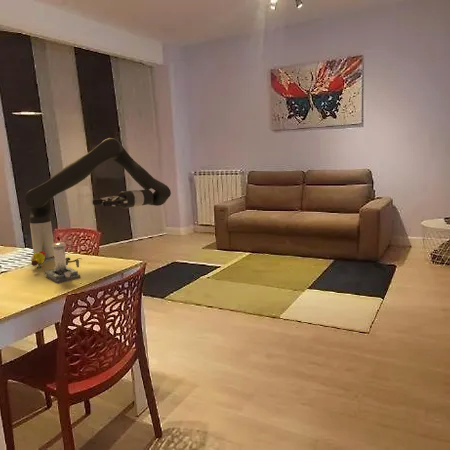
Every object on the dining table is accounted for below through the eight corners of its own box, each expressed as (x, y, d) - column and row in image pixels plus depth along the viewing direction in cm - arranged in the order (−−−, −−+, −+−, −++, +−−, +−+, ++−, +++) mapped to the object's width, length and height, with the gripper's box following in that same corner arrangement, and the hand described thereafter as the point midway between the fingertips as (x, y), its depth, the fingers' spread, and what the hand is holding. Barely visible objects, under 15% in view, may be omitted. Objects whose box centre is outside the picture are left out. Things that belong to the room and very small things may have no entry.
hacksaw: (65, 260, 192) (65, 257, 191) (88, 257, 195) (88, 254, 195) (63, 274, 169) (62, 271, 169) (89, 271, 173) (89, 268, 172)
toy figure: (36, 262, 187) (34, 248, 186) (49, 261, 188) (47, 247, 187) (27, 274, 170) (25, 258, 169) (41, 272, 171) (39, 257, 170)
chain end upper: (44, 276, 166) (43, 269, 165) (66, 271, 172) (65, 264, 172) (56, 282, 158) (55, 274, 158) (78, 276, 164) (77, 269, 164)
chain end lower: (46, 277, 165) (45, 270, 164) (68, 272, 171) (67, 265, 170) (58, 283, 157) (57, 275, 156) (80, 277, 163) (79, 270, 162)
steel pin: (53, 277, 164) (49, 243, 161) (65, 274, 168) (61, 241, 165) (58, 280, 161) (54, 245, 158) (70, 277, 164) (67, 243, 162)
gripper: (122, 189, 187) (89, 193, 176) (139, 191, 177) (105, 195, 166) (123, 206, 188) (90, 210, 177) (140, 208, 178) (107, 213, 167)
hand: (97, 203), depth 172 cm, fingers open, 8 cm apart
